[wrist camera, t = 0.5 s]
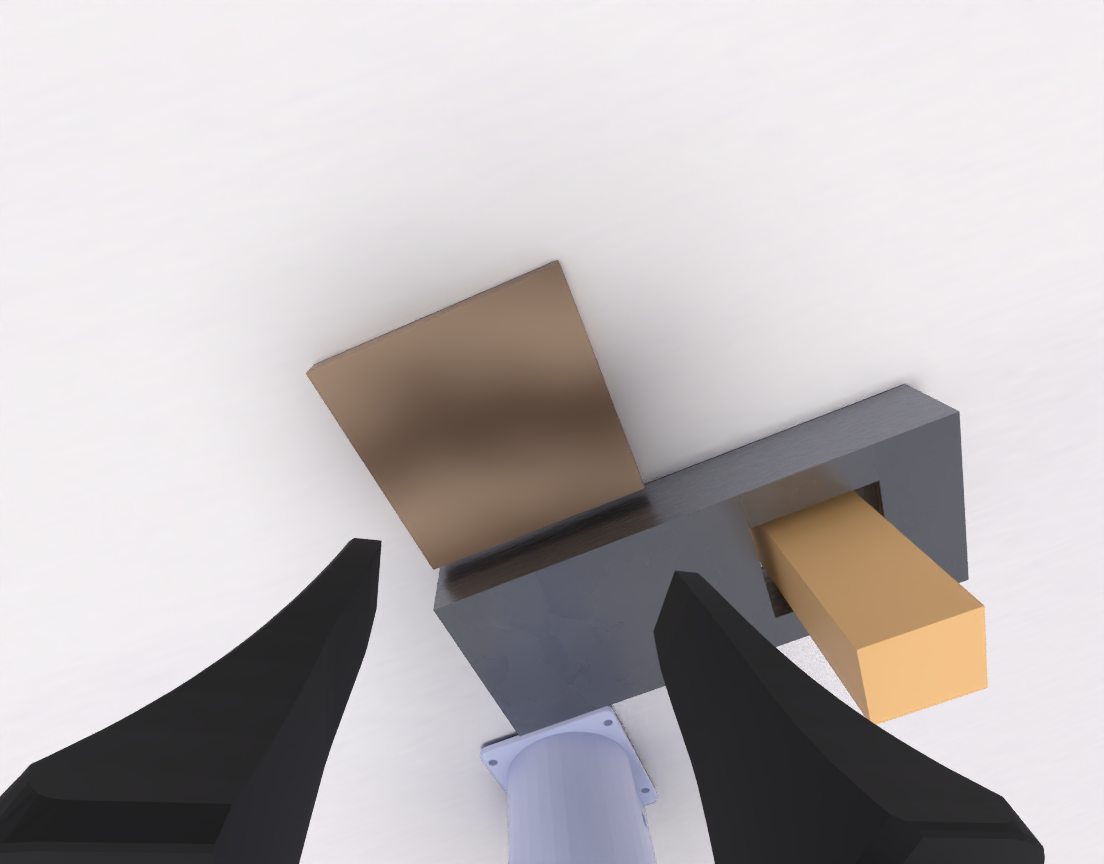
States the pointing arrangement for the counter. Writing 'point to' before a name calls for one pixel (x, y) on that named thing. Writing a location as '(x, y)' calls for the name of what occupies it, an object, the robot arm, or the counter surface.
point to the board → (483, 417)
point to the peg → (876, 607)
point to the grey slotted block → (690, 554)
